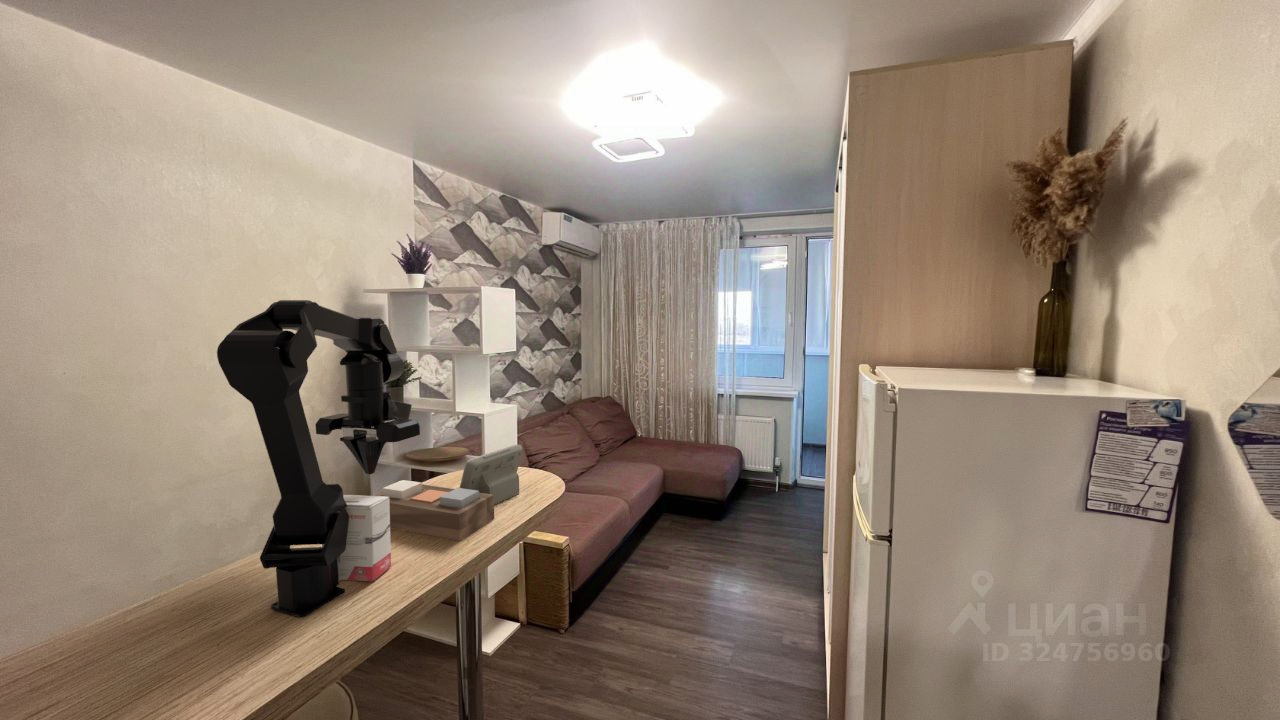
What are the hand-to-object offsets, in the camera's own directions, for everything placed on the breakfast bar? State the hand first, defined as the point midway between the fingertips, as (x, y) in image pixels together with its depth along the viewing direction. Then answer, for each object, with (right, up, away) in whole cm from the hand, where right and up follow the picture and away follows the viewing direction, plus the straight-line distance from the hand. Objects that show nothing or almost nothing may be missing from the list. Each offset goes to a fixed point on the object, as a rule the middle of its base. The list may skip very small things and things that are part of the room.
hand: (370, 473), depth 87 cm
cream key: (+1, -8, +10) cm, 13 cm away
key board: (+8, -11, +8) cm, 16 cm away
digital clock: (+16, -10, +21) cm, 28 cm away
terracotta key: (+8, -9, +8) cm, 14 cm away
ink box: (+4, -13, -11) cm, 18 cm away
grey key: (+14, -8, +5) cm, 17 cm away
